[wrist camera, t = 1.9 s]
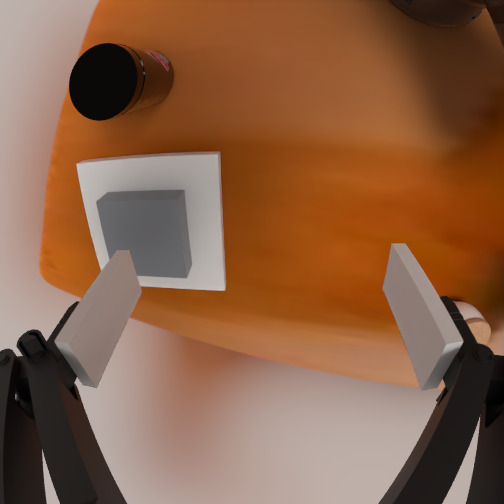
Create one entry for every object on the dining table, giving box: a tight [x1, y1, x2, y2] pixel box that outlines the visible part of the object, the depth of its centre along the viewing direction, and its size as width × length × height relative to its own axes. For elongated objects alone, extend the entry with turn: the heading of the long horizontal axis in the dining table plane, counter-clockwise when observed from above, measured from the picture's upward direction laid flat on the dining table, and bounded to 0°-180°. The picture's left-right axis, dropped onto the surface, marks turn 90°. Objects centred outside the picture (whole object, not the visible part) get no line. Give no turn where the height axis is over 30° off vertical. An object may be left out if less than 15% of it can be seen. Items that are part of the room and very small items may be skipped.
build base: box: [76, 151, 226, 291], centre depth 36 cm, size 18×18×4 cm
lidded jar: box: [453, 301, 491, 345], centre depth 40 cm, size 11×11×9 cm
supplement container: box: [69, 43, 174, 121], centre depth 24 cm, size 7×7×10 cm
